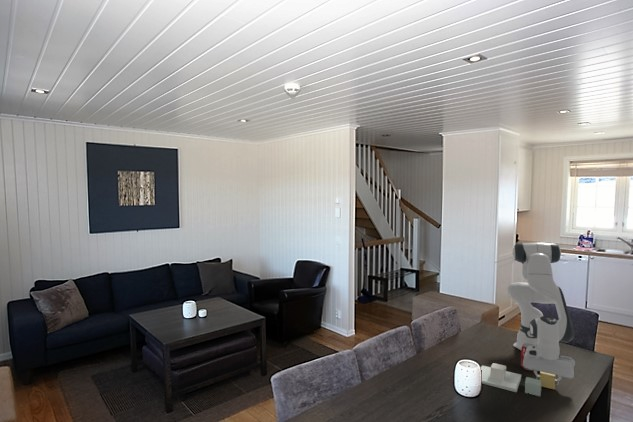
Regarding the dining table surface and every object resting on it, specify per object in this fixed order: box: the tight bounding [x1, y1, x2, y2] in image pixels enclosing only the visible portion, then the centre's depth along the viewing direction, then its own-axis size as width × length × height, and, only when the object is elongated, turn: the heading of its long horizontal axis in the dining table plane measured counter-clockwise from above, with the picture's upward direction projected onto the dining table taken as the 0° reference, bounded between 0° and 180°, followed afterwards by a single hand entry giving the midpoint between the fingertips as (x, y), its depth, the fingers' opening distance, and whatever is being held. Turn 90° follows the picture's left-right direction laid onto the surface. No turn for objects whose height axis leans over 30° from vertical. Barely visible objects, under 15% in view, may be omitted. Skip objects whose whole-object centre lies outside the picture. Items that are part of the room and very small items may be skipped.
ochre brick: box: [539, 371, 556, 391], centre depth 174 cm, size 6×6×5 cm
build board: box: [480, 362, 522, 393], centre depth 181 cm, size 18×18×6 cm
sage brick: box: [524, 376, 542, 397], centre depth 169 cm, size 6×6×5 cm
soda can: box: [520, 344, 534, 372], centre depth 193 cm, size 7×7×12 cm
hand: (547, 381), depth 174 cm, fingers closed on ochre brick, 6 cm apart
